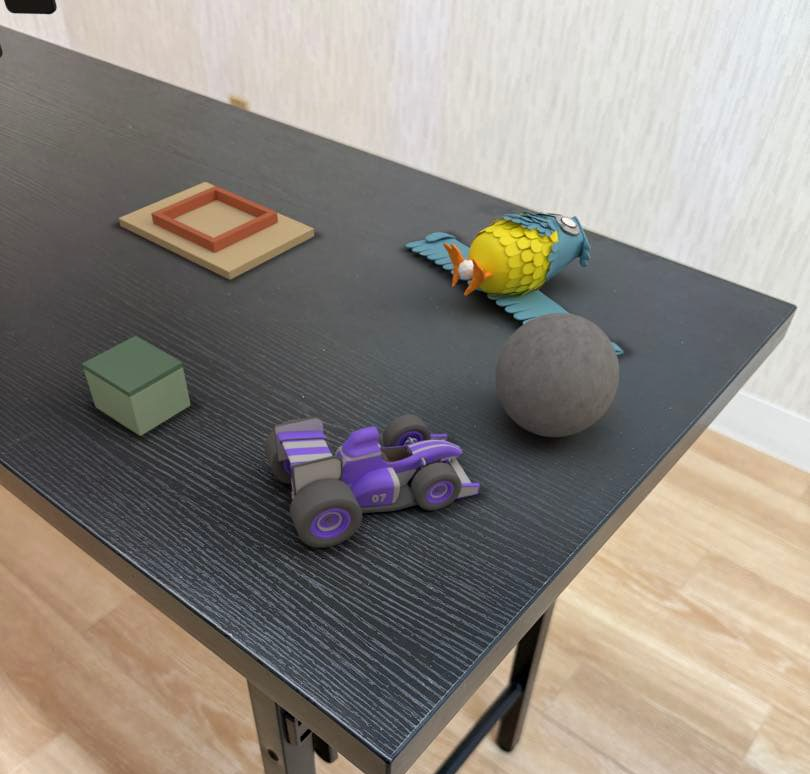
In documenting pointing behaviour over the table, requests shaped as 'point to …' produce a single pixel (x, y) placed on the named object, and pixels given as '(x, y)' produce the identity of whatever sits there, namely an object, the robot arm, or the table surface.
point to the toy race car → (362, 474)
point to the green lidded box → (137, 384)
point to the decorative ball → (557, 375)
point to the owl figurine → (513, 259)
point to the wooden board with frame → (217, 229)
